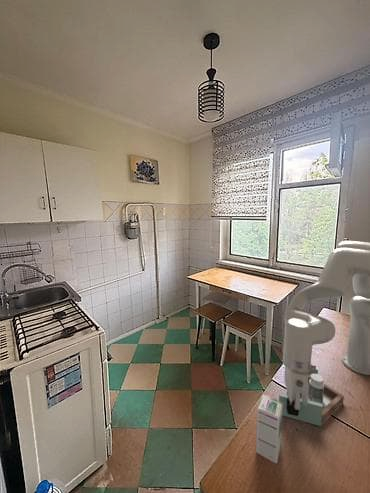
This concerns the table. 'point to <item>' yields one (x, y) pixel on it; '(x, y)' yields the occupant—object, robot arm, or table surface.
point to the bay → (329, 401)
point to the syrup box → (269, 428)
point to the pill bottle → (316, 388)
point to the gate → (304, 411)
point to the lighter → (313, 369)
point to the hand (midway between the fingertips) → (292, 412)
